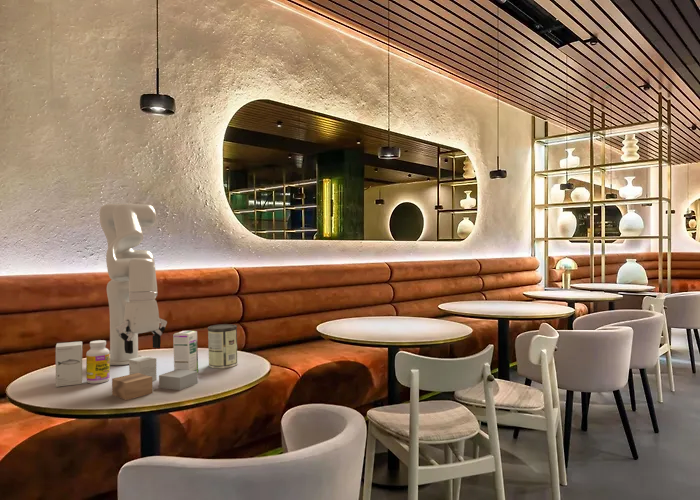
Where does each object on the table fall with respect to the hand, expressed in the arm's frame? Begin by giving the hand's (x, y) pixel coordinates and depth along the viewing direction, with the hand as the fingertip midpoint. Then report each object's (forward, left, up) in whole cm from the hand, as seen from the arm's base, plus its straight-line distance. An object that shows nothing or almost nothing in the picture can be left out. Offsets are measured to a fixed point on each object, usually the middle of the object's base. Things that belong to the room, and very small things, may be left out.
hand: (143, 350), depth 156 cm
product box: (-1, 0, -10) cm, 10 cm away
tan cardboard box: (+9, -10, -10) cm, 17 cm away
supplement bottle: (-13, -8, -10) cm, 18 cm away
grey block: (+13, +3, -10) cm, 17 cm away
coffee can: (+5, +28, -10) cm, 31 cm away
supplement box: (-19, -14, -10) cm, 25 cm away
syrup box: (+5, +12, -10) cm, 17 cm away
